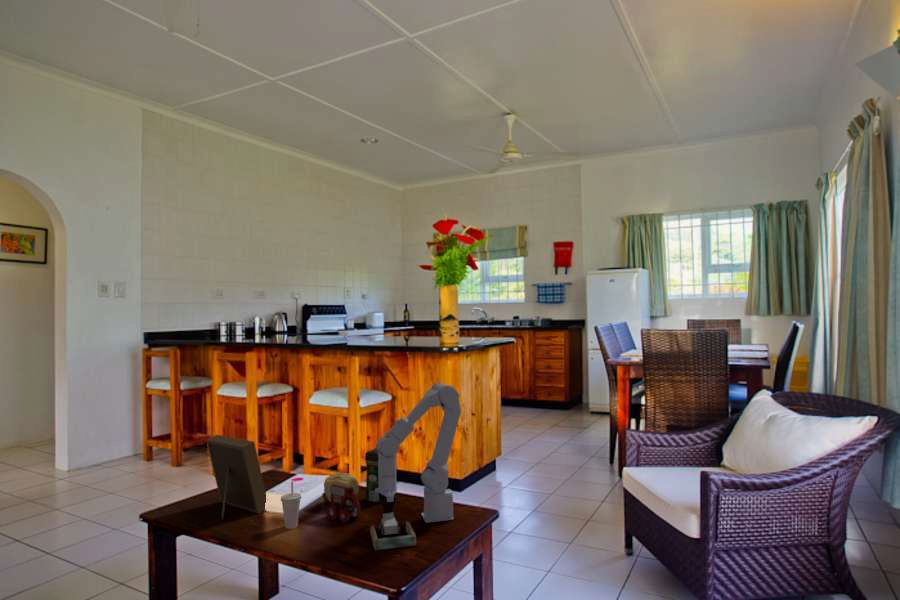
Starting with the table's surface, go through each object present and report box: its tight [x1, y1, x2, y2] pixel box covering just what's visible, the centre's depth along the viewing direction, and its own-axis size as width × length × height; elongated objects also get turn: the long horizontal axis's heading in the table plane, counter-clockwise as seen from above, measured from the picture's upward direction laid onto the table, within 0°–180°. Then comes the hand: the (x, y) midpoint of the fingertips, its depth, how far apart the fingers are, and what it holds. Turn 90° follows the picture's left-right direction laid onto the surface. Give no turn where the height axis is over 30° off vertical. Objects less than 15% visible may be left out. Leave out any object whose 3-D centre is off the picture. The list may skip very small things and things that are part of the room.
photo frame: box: [205, 434, 267, 520], centre depth 185 cm, size 15×22×25 cm
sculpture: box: [323, 472, 360, 503], centre depth 192 cm, size 11×12×11 cm
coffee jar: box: [364, 448, 381, 504], centre depth 195 cm, size 10×8×19 cm
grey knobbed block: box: [379, 512, 401, 537], centre depth 165 cm, size 6×7×4 cm
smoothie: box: [280, 481, 302, 530], centre depth 170 cm, size 6×6×14 cm
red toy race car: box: [326, 484, 362, 523], centre depth 177 cm, size 7×12×10 cm, turn 59°
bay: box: [370, 521, 417, 551], centre depth 159 cm, size 12×12×2 cm
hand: (387, 517), depth 169 cm, fingers closed
